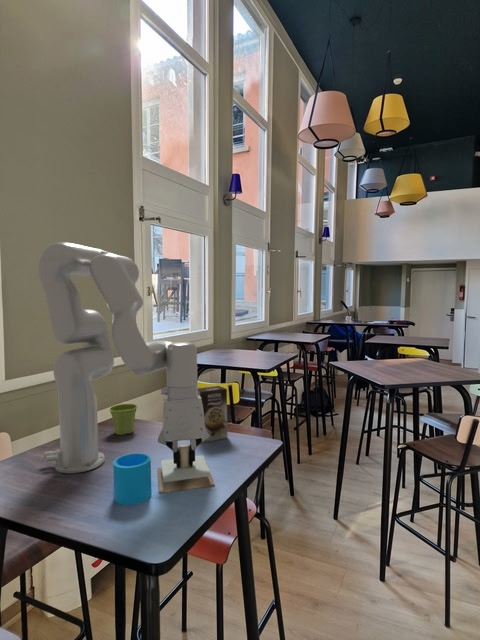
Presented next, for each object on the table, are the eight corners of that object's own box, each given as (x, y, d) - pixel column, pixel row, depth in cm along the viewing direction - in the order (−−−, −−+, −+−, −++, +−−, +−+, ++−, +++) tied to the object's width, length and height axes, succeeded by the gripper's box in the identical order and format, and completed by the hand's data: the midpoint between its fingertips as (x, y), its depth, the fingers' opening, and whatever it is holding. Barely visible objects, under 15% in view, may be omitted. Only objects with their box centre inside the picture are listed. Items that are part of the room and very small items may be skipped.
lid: (163, 482, 87) (162, 457, 87) (160, 463, 97) (160, 441, 97) (210, 475, 90) (209, 452, 89) (202, 458, 100) (202, 436, 100)
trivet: (158, 493, 86) (158, 491, 86) (157, 469, 98) (157, 467, 98) (214, 485, 89) (214, 484, 89) (206, 463, 101) (206, 462, 101)
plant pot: (104, 436, 125) (103, 410, 124) (118, 427, 134) (117, 403, 134) (130, 437, 123) (129, 411, 123) (142, 428, 132) (142, 403, 132)
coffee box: (202, 443, 116) (200, 392, 116) (194, 437, 122) (193, 388, 122) (228, 438, 121) (227, 388, 120) (220, 432, 126) (219, 384, 126)
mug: (157, 496, 85) (156, 460, 84) (122, 509, 79) (121, 471, 79) (136, 477, 94) (135, 445, 94) (103, 488, 89) (102, 454, 88)
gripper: (148, 398, 87) (151, 475, 88) (217, 393, 91) (219, 467, 92) (148, 391, 95) (151, 463, 95) (212, 386, 98) (213, 455, 99)
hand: (184, 464), depth 93 cm, fingers closed on lid, 2 cm apart
